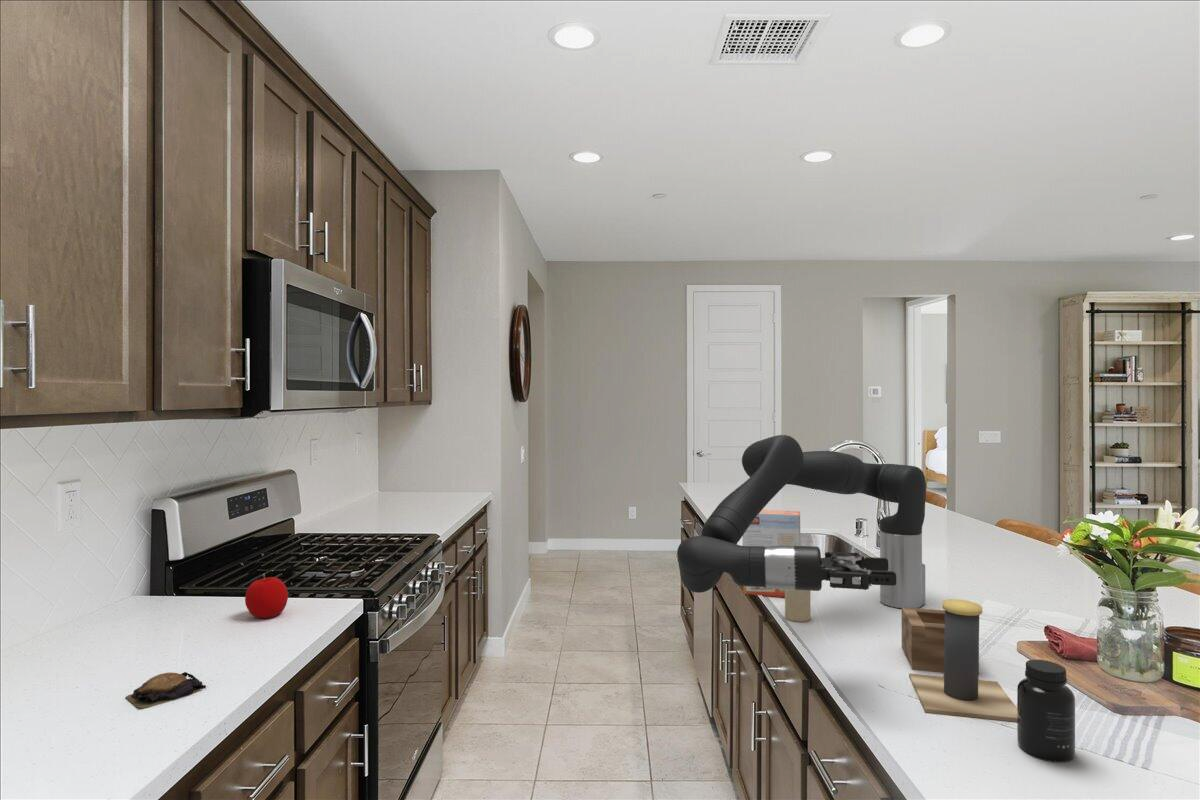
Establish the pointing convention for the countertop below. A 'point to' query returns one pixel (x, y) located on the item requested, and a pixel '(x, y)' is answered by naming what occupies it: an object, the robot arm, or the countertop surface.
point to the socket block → (924, 638)
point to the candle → (797, 605)
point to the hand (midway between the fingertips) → (891, 571)
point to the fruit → (266, 597)
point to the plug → (961, 649)
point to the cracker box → (772, 539)
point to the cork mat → (986, 706)
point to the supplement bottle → (1046, 712)
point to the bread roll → (164, 689)
